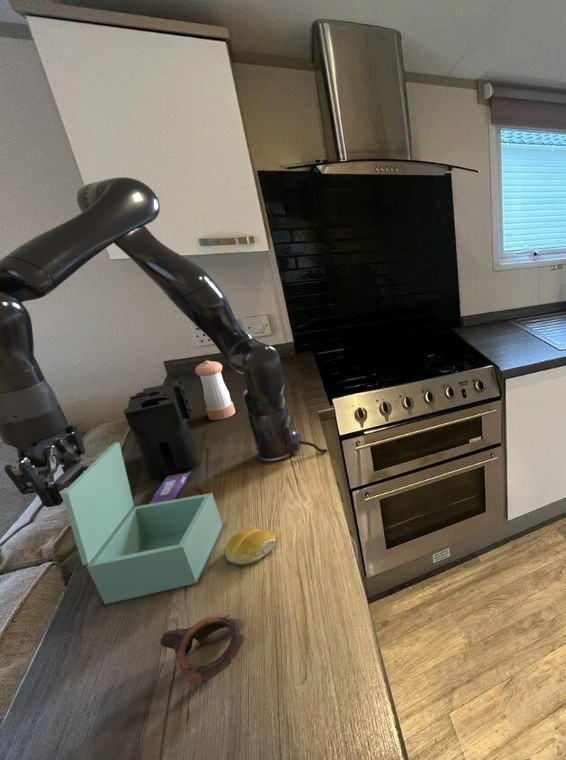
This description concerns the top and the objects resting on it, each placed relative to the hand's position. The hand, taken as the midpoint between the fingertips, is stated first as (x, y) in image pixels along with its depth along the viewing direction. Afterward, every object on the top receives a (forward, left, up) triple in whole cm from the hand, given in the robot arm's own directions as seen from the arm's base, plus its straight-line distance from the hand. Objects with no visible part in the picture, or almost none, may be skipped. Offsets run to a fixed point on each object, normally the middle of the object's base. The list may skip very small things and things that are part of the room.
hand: (67, 492), depth 78 cm
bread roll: (-25, +2, -20) cm, 32 cm away
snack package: (-2, -26, -20) cm, 33 cm away
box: (-10, 0, -19) cm, 22 cm away
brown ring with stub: (-24, +25, -20) cm, 40 cm away
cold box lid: (-5, 0, -3) cm, 5 cm away
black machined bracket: (+2, -42, -20) cm, 46 cm away
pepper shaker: (-1, -67, -20) cm, 70 cm away
